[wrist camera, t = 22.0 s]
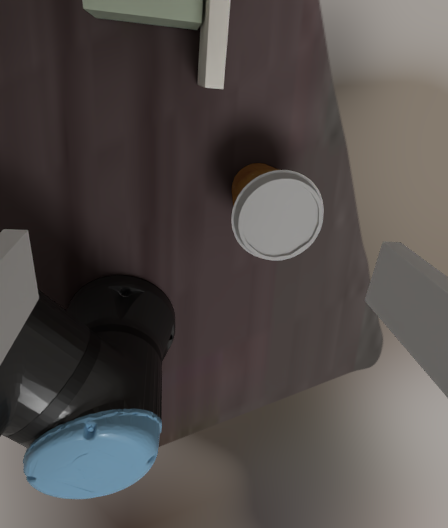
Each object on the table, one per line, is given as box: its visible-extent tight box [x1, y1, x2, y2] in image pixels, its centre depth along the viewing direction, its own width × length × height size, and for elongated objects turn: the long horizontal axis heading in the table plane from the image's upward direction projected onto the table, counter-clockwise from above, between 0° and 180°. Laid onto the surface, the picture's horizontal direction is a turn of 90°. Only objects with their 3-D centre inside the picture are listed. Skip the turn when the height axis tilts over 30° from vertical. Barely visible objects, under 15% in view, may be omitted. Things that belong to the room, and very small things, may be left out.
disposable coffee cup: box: [231, 163, 324, 261], centre depth 41 cm, size 10×10×12 cm
